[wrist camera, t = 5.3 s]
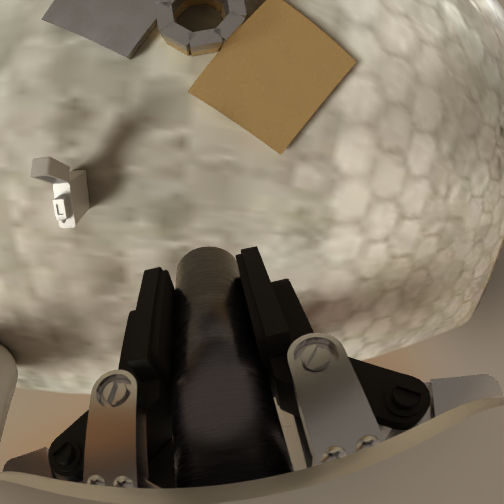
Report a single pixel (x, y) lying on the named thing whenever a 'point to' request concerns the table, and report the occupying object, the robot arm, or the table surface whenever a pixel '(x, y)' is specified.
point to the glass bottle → (6, 383)
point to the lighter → (64, 189)
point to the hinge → (228, 56)
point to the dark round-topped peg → (220, 380)
